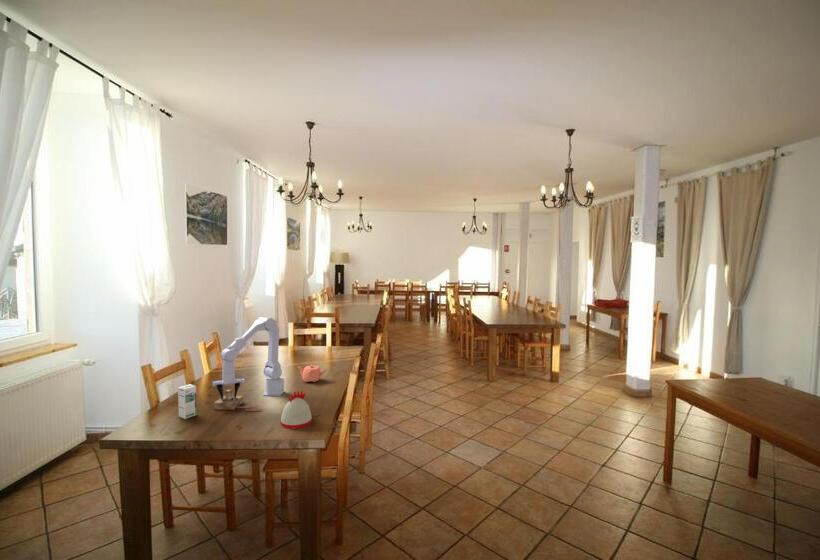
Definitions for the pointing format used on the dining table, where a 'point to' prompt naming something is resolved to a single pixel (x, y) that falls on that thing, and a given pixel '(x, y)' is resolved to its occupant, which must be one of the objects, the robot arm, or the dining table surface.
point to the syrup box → (187, 401)
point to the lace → (248, 409)
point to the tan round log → (228, 395)
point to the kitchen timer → (296, 412)
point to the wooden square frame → (228, 403)
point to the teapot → (311, 373)
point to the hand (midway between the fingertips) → (228, 398)
